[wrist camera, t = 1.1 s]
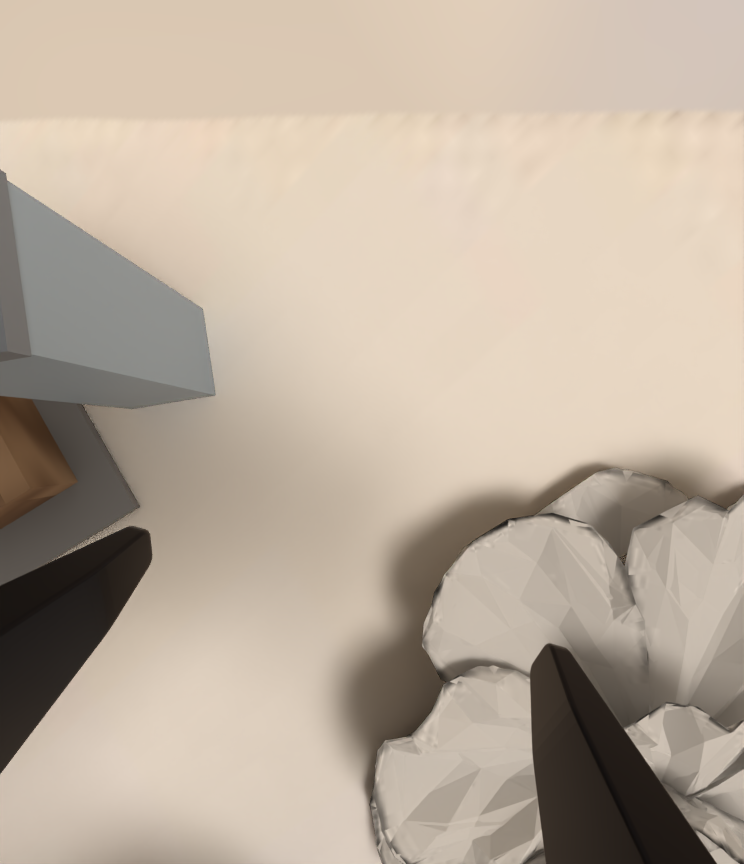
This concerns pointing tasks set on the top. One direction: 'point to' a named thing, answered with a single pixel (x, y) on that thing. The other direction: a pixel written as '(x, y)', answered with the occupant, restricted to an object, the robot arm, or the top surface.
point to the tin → (89, 318)
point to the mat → (67, 496)
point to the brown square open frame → (28, 460)
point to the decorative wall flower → (598, 657)
